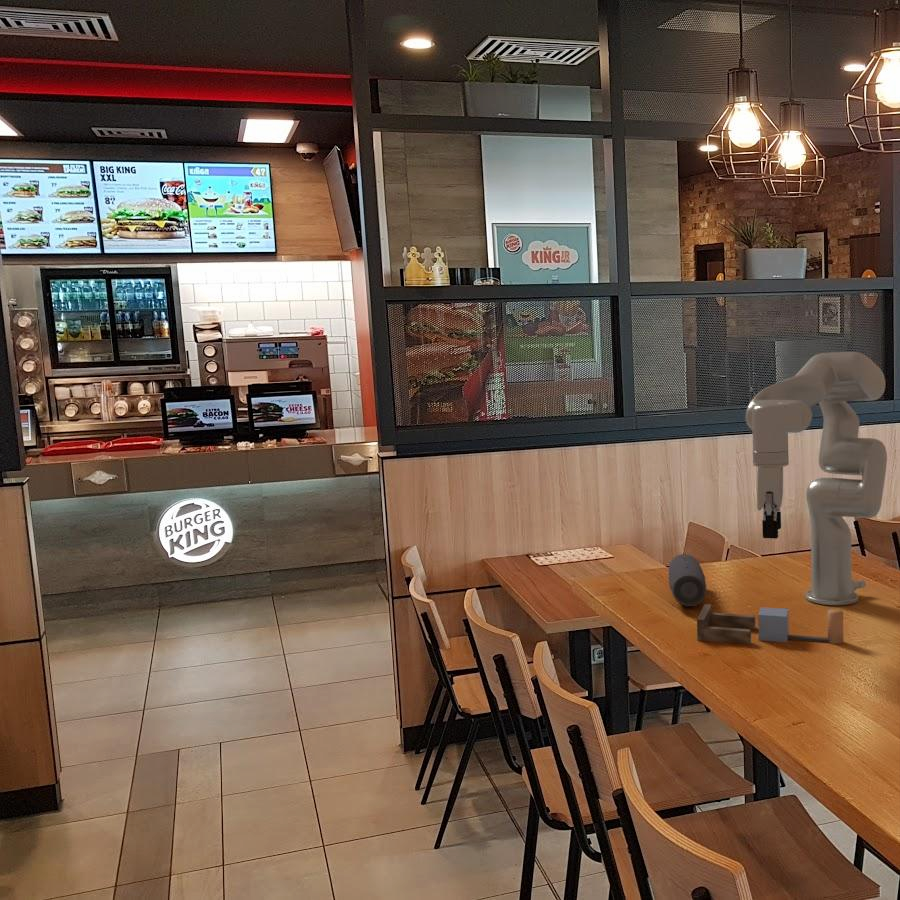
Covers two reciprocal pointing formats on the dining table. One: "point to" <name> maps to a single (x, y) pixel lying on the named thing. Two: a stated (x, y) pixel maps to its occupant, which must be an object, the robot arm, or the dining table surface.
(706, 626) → the dark u-shaped frame
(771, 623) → the block
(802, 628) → the dining table surface
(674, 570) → the bluetooth speaker
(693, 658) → the dining table surface
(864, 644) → the dining table surface
